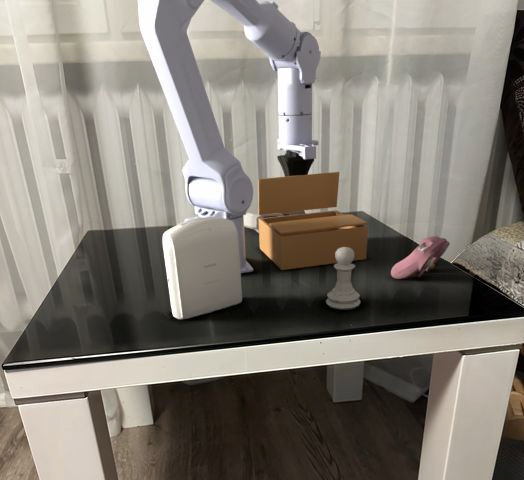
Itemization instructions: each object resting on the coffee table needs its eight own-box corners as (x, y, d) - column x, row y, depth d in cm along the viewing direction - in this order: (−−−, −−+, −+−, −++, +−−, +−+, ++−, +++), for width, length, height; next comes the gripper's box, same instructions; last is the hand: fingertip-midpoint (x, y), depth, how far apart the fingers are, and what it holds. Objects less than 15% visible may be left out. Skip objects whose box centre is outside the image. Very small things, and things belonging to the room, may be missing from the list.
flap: (258, 179, 92) (258, 178, 92) (258, 215, 96) (258, 214, 96) (339, 172, 96) (338, 171, 96) (336, 207, 99) (336, 206, 100)
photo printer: (180, 323, 70) (169, 229, 65) (166, 313, 74) (155, 222, 68) (247, 304, 75) (242, 215, 69) (231, 295, 78) (226, 209, 73)
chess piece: (350, 295, 77) (352, 240, 73) (366, 306, 73) (370, 249, 69) (320, 300, 76) (320, 244, 72) (335, 312, 72) (337, 254, 68)
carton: (281, 270, 88) (280, 232, 85) (259, 248, 99) (258, 214, 96) (366, 259, 91) (368, 222, 88) (335, 239, 102) (336, 206, 99)
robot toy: (289, 221, 119) (227, 226, 113) (290, 200, 117) (227, 204, 111) (319, 233, 109) (253, 239, 103) (321, 210, 107) (253, 215, 101)
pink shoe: (410, 293, 81) (435, 255, 76) (386, 275, 82) (409, 237, 77) (435, 274, 88) (460, 239, 83) (412, 258, 89) (435, 222, 84)
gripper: (334, 115, 86) (332, 202, 92) (302, 110, 98) (302, 187, 105) (292, 118, 84) (293, 206, 91) (265, 113, 97) (268, 190, 103)
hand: (295, 196), depth 98 cm, fingers closed
